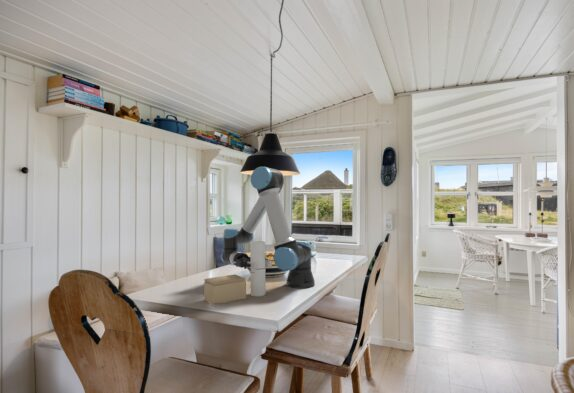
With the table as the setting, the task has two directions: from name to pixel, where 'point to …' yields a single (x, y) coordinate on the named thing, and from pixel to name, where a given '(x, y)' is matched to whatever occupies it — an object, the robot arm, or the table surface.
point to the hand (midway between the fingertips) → (263, 265)
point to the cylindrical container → (258, 268)
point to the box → (224, 292)
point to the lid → (224, 279)
